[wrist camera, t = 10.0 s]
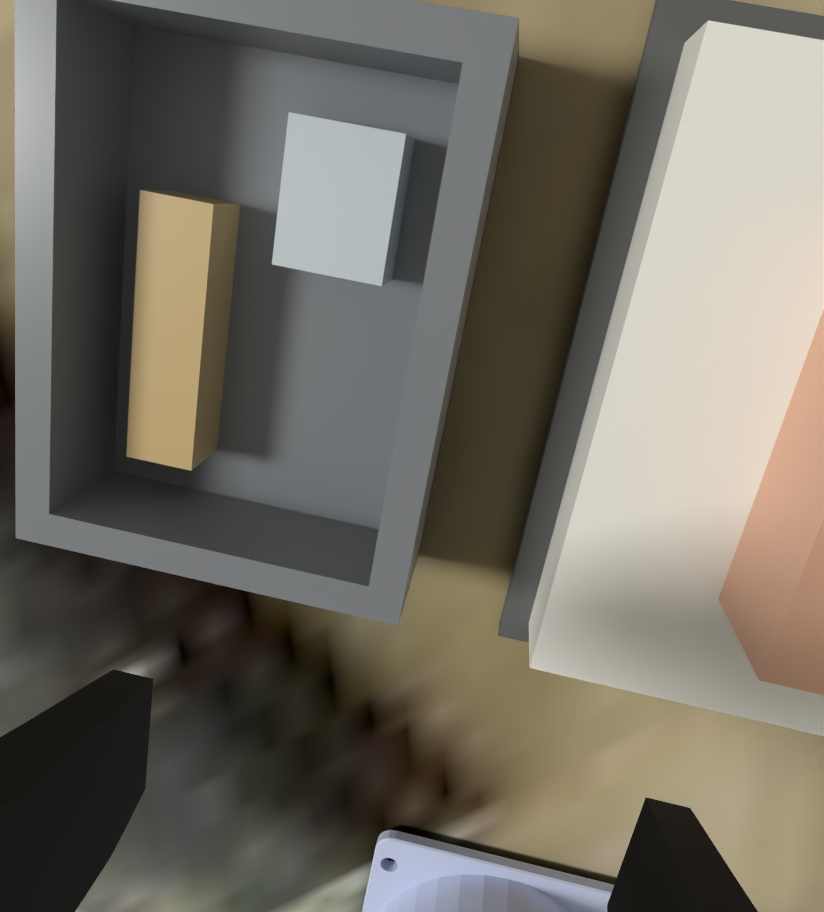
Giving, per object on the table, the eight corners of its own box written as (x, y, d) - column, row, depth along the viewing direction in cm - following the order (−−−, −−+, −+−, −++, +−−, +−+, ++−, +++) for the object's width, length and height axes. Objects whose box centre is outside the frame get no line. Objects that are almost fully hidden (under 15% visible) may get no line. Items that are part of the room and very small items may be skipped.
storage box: (418, 556, 20) (397, 625, 17) (95, 484, 21) (15, 538, 17) (518, 55, 16) (518, 18, 13) (114, -16, 17) (14, -69, 13)
